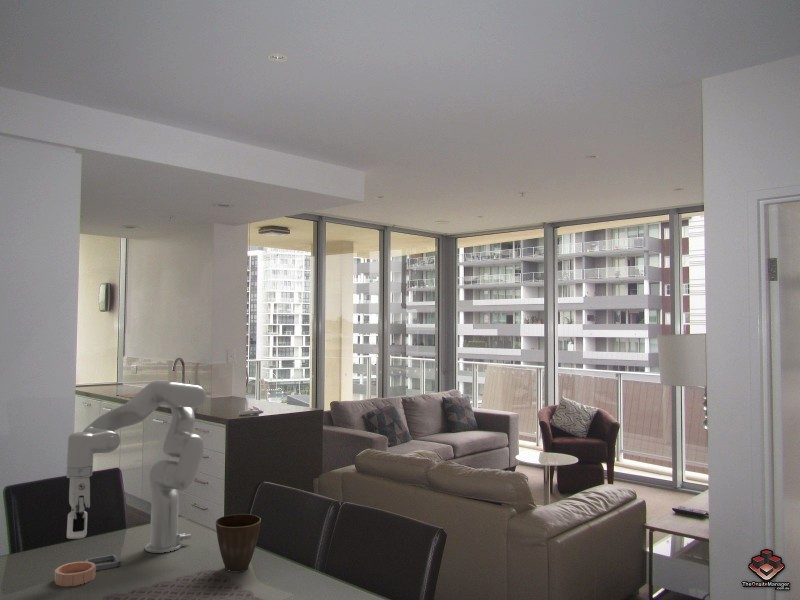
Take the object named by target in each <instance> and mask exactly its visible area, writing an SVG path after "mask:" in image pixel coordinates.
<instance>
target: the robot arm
mask: <svg viewBox="0 0 800 600" xmlns="http://www.w3.org/2000/svg"><path fill="white" fill-rule="evenodd" d="M206 399H207V393H206V390H205V389H204V388H203V387H202V386H200V385H197V384H189V383H182V382H181V383H180V382H176V381H175V382H174V381H167V380H166V381H164V380H154V381H151V382H150V383H148V384H147V385H145V386H144V387H143V388H142V389H141V390H140V391H138V392H137V394H135V395H134V396H133V397H131V398H130V399H129V400H128V401H127V402H126V403H124V404H123V405H120V406H118V407H116V408H114V409H112V410H110V411H108V412H105V413H104V414H103V415H101V416H98V417H97V418H96V419H94V421H92V422H91V423H90V424H89V425H87V426H86V427H85V428H84V429H83V430H82V431H79V432H73V433H71V434H69V436H68V438H67V439H68V440H67V456H66V457H67V458H66V474H65V475H66V478H67V479H69V490H68V503H69V506H70V507H71V511H70V512H72V511H74V519H73V532H78V531H83V530H84V520H85V518H84V511H85V508H86V509H90V507H91V482H90V477H92V476H93V472H94V471H93V470H94V469H93V467H94V454H110V453H112V452H114V451H115V450H117V449H118V448H119V446H120V444H121V437H120V435H119V434H118V433H117V432H116V431H117V430H119V429H122V428H127V427H130V426H134V425H137V424H140V423H142V422H144V421H145V419H147V418H148V417H149V416H151V414H153V412H154V411H155V410H157V409H158V408H159V407H160V406H169V407H170V410H171V420H170V423H169V427H168V429H167V433H166V436H165V439H164V442H163V445H162V446H163V447H162V451H163V453H164V454H165V455H166V456H168V457H171V458H173V459H174V458H176V459H178V461H177V460H176V461H175V460H174V461H173V460H169V459H163V460H162V459H161V460H159V461H157V462H155V463H154V464H153V465H152V466H151V468H150V471H149V476H148V477H149V484H150V489H151V490H150V492H151V501H150V502H151V503H150V504H151V507H150V527H149V529H150V530H149V531H150V532H149V533H150V534H149V535H150V536H149V537H150V538H149V542H148V543H147V544H145V545H144V547H145V548H144V549H145V551H146V552H149V553H153V554H163V553H164V552H166V553H170V551H171V552H174V550H175V551H177V550H179V549H180V548H181V547H182V545H183V543H182V542H183V541H185V540H191V539H192V538H191V537H192V534H191V533H185V532H183V533H180V532H179V531H178V530H179V509H180V508H179V506H180V505H179V504H180V497H179V496H180V495H179V491H186V490H188V489H190V487H191V486H192V485H193V484H194V482H195V480H196V478H197V477H196V476H197V474H198V471H199V468H200V464H201V462H202V458H203V456H204V455H203V454H204V451H205V444H204V440H203V438H202V437H201V436H200V434H196V433H193V429H194V427H195V426H194V425H195V423H196V421H195V420H196V415H195V412H194V409H197V408H200V407H201V406H203V404H204V403H205V402H206ZM76 507H79V509H76ZM77 511H79V512H77Z"/></svg>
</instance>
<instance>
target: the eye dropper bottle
mask: <svg viewBox="0 0 800 600" xmlns="http://www.w3.org/2000/svg"><path fill="white" fill-rule="evenodd" d="M76 509H79V507H76ZM77 512H79V511H77ZM84 518H85V520H84V530H83V531H78V532H73V519H74V511H72V512H71V511H70V512H68V514H67V522H66V538H67V539H69V540H70V539H71V540H72V539H73V540H74V539H83V538H85V537H86V536H87V533H88V530H87V529H88V512H87V511H86V510H84Z"/></svg>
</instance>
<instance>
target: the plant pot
mask: <svg viewBox="0 0 800 600" xmlns="http://www.w3.org/2000/svg"><path fill="white" fill-rule="evenodd" d="M261 522H262V518H261V517H260V516H258V515H255V514H252V513H251V514H250V513H238V514H237V513H236V514H234V513H233V514H230V515H224V516H222V517H219V518H217V519H216V521H215V529H216V537H217V538H216V539H217V541H218V548H219V552H220V555H221V560H222V563H223V565H224V568H225V570H226V569H227V570H230V571H240V572H242V571H241V570H244V571H246V570H247V569H249V567H250V564H251V561H252V559H253V555H254V553H255V549H256V545H257V542H258V538H259V534H260V528H261ZM245 569H246V570H245ZM227 570H226V571H227ZM230 571H229V572H230Z"/></svg>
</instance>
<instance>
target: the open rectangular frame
mask: <svg viewBox="0 0 800 600" xmlns="http://www.w3.org/2000/svg"><path fill="white" fill-rule="evenodd" d="M107 560H108V561H112V562H107V563H101V562H102V561H103V562H106V561H107ZM85 561H87V562H92V563H95V565H96V572H97V571H101V570H106V569H107V570H108V569H111V568H118V567H121V561H120V559H119V557H117V555H116V554H115V553H114V554H109V555H104V556H97V557H91V558H86V559H84V561H83V562H85ZM96 563H101V564H96ZM117 566H118V567H117Z"/></svg>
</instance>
